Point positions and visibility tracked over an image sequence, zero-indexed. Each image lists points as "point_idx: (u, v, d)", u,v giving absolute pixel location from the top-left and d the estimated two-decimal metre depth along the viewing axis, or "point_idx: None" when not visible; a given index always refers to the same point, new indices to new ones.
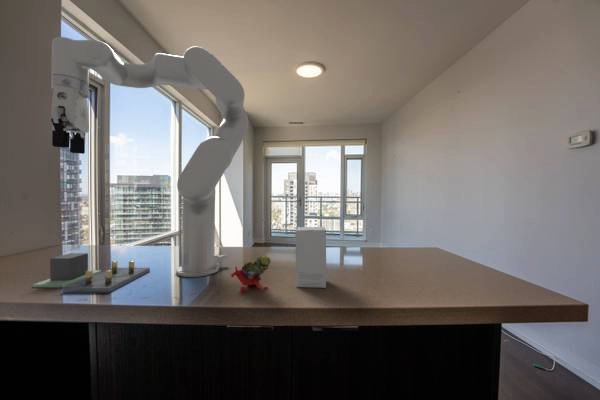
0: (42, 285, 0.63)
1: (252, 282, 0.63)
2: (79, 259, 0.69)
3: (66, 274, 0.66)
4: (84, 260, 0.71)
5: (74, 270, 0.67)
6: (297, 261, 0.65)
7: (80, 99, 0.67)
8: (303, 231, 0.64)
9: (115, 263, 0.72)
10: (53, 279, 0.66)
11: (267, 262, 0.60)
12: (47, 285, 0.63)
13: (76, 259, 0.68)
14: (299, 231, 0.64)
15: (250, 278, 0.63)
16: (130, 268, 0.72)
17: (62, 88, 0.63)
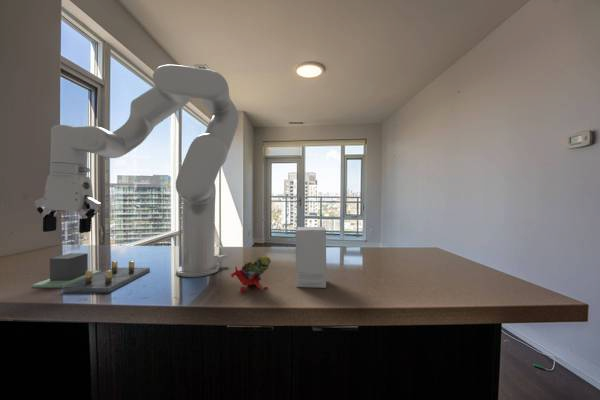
0: (42, 285, 0.63)
1: (252, 282, 0.63)
2: (79, 259, 0.69)
3: (65, 274, 0.66)
4: (84, 260, 0.70)
5: (73, 270, 0.67)
6: (297, 261, 0.65)
7: None
8: (303, 231, 0.64)
9: (115, 263, 0.72)
10: (53, 279, 0.66)
11: (267, 262, 0.60)
12: (47, 285, 0.63)
13: (75, 259, 0.68)
14: (299, 231, 0.64)
15: (250, 278, 0.63)
16: (130, 268, 0.72)
17: (85, 178, 0.69)
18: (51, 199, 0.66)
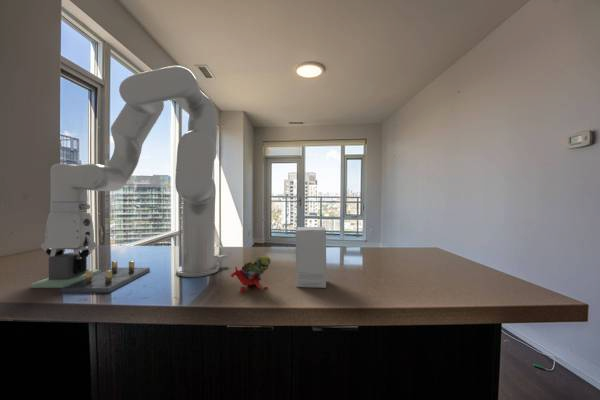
0: (40, 284, 0.63)
1: (252, 282, 0.63)
2: None
3: (64, 273, 0.66)
4: None
5: (72, 269, 0.67)
6: (297, 261, 0.65)
7: None
8: (303, 231, 0.64)
9: (115, 263, 0.72)
10: (51, 278, 0.66)
11: (267, 262, 0.60)
12: (45, 284, 0.63)
13: (74, 259, 0.68)
14: (299, 231, 0.64)
15: (250, 278, 0.63)
16: (130, 268, 0.72)
17: (85, 215, 0.69)
18: (52, 238, 0.66)
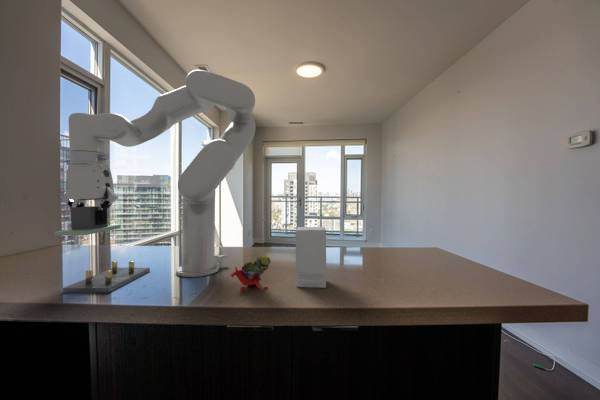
0: (64, 232, 0.62)
1: (252, 282, 0.63)
2: None
3: (87, 223, 0.65)
4: None
5: (94, 220, 0.67)
6: (297, 261, 0.65)
7: None
8: (303, 231, 0.64)
9: (115, 263, 0.72)
10: (74, 228, 0.65)
11: (267, 262, 0.60)
12: (69, 232, 0.62)
13: (96, 210, 0.67)
14: (299, 231, 0.64)
15: (250, 278, 0.63)
16: (130, 268, 0.72)
17: (104, 166, 0.68)
18: (73, 188, 0.66)
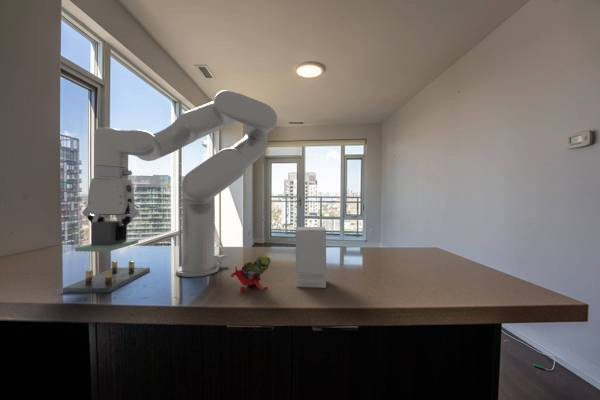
0: (85, 248, 0.61)
1: (252, 282, 0.63)
2: None
3: (107, 238, 0.64)
4: None
5: (114, 235, 0.66)
6: (297, 261, 0.65)
7: None
8: (303, 231, 0.64)
9: (115, 263, 0.72)
10: (94, 244, 0.64)
11: (267, 262, 0.60)
12: (90, 248, 0.61)
13: (116, 225, 0.66)
14: (299, 231, 0.64)
15: (250, 278, 0.63)
16: (130, 268, 0.72)
17: (127, 181, 0.68)
18: (95, 203, 0.65)
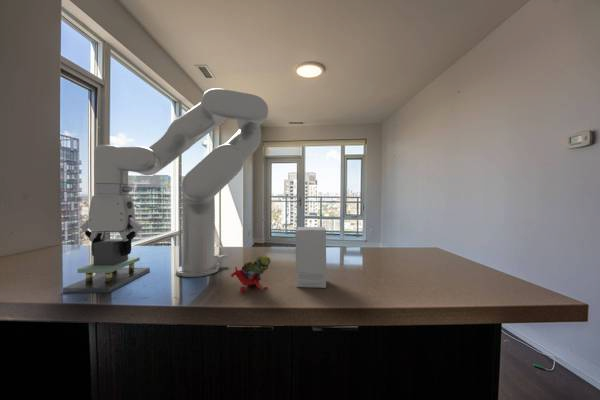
0: (87, 270, 0.62)
1: (252, 282, 0.63)
2: None
3: (109, 259, 0.65)
4: None
5: (116, 255, 0.66)
6: (297, 261, 0.65)
7: None
8: (303, 231, 0.64)
9: None
10: (96, 264, 0.65)
11: (267, 262, 0.60)
12: (92, 270, 0.62)
13: (118, 245, 0.67)
14: (299, 231, 0.64)
15: (250, 278, 0.63)
16: (130, 268, 0.72)
17: (128, 197, 0.68)
18: (96, 220, 0.65)
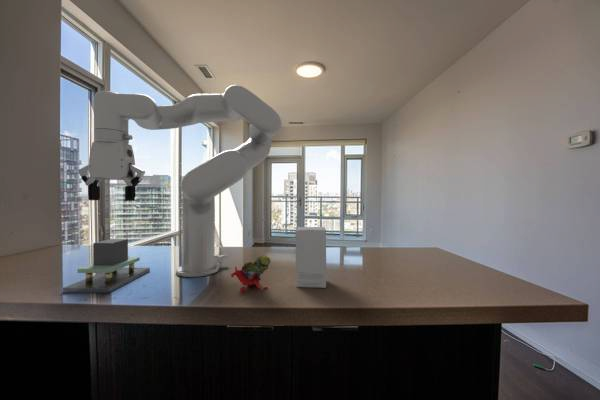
0: (87, 270, 0.62)
1: (252, 282, 0.63)
2: (121, 244, 0.68)
3: (109, 259, 0.65)
4: (124, 245, 0.69)
5: (116, 255, 0.66)
6: (297, 261, 0.65)
7: None
8: (303, 231, 0.64)
9: None
10: (96, 264, 0.65)
11: (267, 262, 0.60)
12: (92, 270, 0.62)
13: (118, 245, 0.67)
14: (299, 231, 0.64)
15: (250, 278, 0.63)
16: (130, 268, 0.72)
17: (128, 146, 0.68)
18: (96, 166, 0.65)
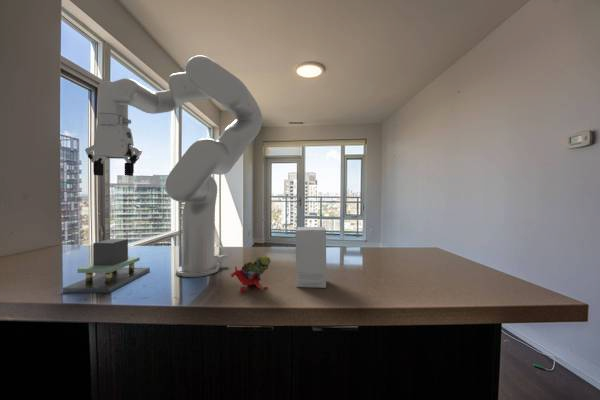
0: (87, 270, 0.62)
1: (252, 282, 0.63)
2: (121, 244, 0.68)
3: (109, 259, 0.65)
4: (124, 245, 0.69)
5: (116, 255, 0.66)
6: (297, 261, 0.65)
7: None
8: (303, 231, 0.64)
9: None
10: (96, 264, 0.65)
11: (267, 262, 0.60)
12: (92, 270, 0.62)
13: (118, 245, 0.67)
14: (299, 231, 0.64)
15: (250, 278, 0.63)
16: (130, 268, 0.72)
17: (127, 128, 0.79)
18: (100, 146, 0.77)
